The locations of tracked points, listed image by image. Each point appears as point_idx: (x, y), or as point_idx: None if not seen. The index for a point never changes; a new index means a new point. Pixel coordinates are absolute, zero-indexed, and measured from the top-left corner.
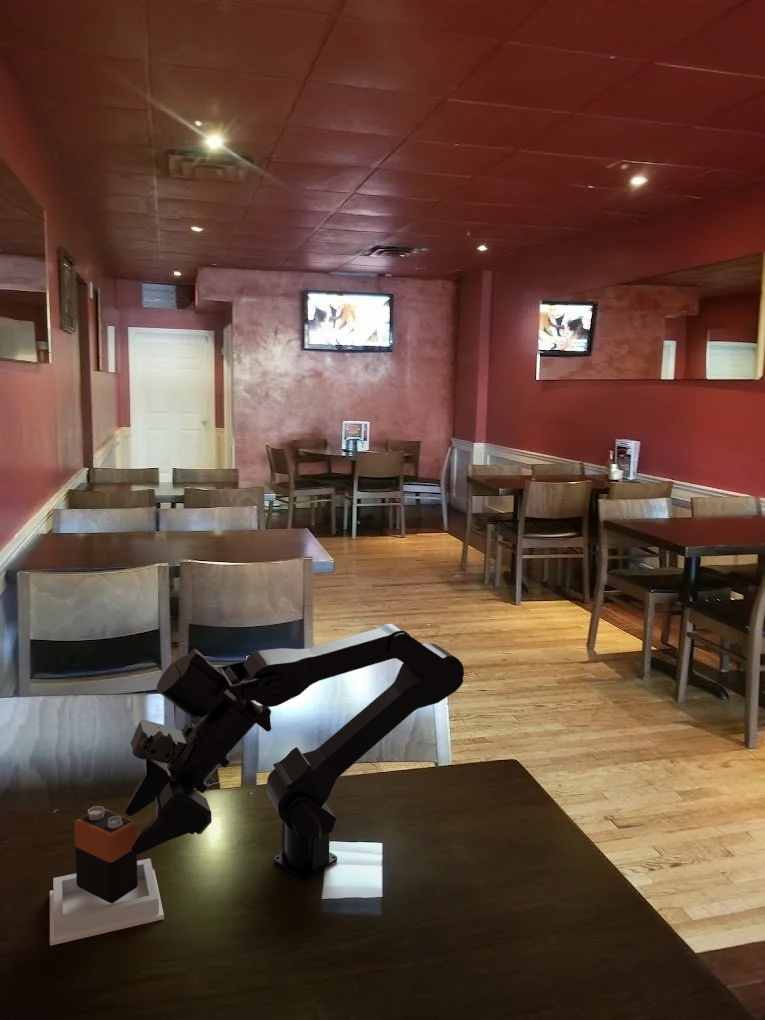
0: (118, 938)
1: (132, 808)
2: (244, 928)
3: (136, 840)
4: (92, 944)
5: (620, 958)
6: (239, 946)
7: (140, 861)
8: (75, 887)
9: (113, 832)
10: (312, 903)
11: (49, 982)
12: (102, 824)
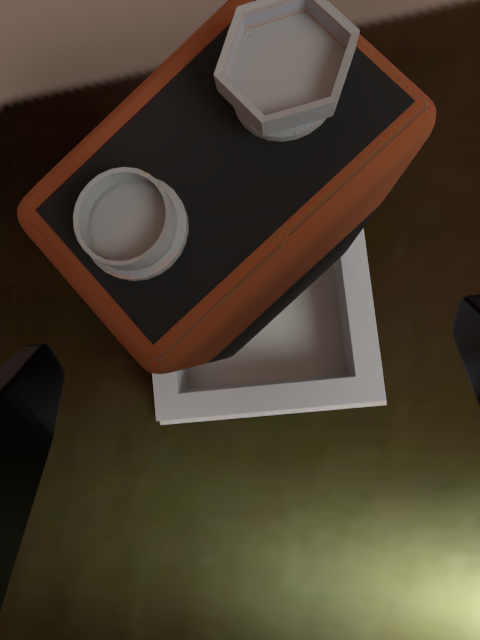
0: None
1: (478, 344)
2: (71, 627)
3: (9, 375)
4: None
5: None
6: (11, 601)
7: (374, 367)
8: None
9: (45, 226)
10: None
11: (25, 173)
12: (163, 144)
